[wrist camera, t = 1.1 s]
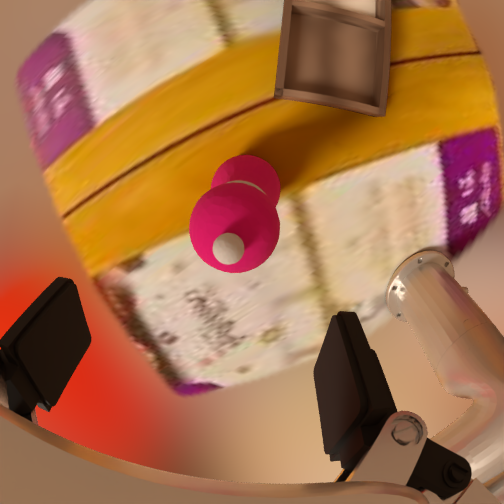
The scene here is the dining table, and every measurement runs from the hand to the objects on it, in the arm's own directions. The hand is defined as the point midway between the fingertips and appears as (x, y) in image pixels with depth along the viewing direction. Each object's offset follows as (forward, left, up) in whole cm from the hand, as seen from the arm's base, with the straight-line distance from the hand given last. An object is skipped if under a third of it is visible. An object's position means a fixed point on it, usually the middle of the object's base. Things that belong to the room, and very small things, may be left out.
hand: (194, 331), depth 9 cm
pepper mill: (0, 0, -27) cm, 27 cm away
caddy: (-8, -22, -26) cm, 35 cm away
